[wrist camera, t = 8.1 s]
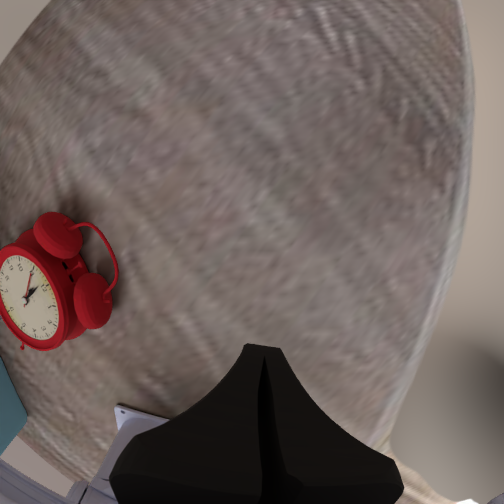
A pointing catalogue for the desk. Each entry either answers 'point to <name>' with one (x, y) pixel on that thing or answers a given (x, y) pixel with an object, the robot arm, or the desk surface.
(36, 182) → the desk surface
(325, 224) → the desk surface
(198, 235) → the desk surface
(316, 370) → the desk surface
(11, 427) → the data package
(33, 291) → the alarm clock
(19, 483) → the robot arm
